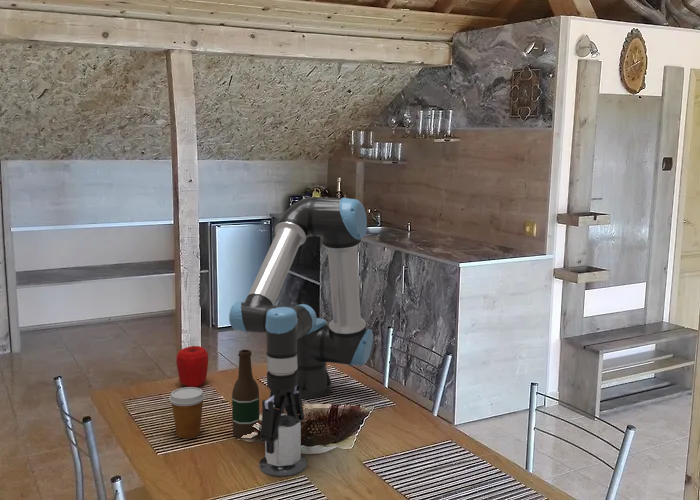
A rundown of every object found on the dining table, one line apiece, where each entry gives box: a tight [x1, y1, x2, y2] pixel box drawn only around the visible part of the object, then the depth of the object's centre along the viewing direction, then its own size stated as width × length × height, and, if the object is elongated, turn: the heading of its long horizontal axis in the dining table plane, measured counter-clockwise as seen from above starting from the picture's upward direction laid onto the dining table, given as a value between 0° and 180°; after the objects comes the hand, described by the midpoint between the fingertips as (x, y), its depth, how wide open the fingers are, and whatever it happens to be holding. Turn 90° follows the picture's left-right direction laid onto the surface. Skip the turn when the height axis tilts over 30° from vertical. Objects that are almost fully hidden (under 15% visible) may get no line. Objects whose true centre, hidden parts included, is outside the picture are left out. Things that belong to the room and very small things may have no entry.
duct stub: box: [258, 455, 308, 478], centre depth 177 cm, size 12×12×9 cm
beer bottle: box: [231, 349, 261, 440], centre depth 194 cm, size 8×8×24 cm
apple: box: [175, 345, 209, 388], centre depth 232 cm, size 11×10×14 cm
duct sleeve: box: [264, 412, 302, 466], centre depth 177 cm, size 8×8×10 cm
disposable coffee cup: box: [168, 386, 206, 439], centre depth 195 cm, size 10×10×12 cm
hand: (283, 456), depth 178 cm, fingers closed on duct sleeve, 8 cm apart
